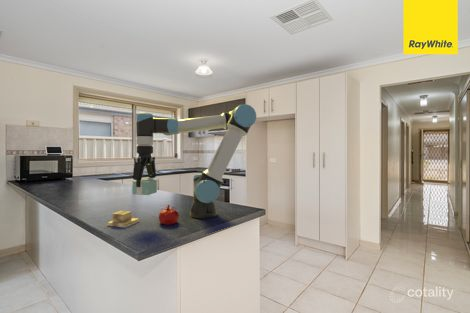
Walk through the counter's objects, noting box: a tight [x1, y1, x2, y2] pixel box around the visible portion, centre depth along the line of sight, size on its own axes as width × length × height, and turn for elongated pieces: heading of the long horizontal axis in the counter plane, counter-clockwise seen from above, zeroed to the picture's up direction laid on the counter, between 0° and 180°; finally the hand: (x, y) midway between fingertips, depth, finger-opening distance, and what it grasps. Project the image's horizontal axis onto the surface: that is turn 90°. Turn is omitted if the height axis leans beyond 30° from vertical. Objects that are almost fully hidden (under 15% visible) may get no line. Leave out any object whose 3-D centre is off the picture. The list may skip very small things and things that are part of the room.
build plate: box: [107, 210, 140, 228], centre depth 120 cm, size 10×10×6 cm
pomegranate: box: [158, 204, 180, 226], centre depth 122 cm, size 10×10×9 cm
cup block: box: [132, 178, 158, 196], centre depth 119 cm, size 8×8×6 cm
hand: (145, 192), depth 119 cm, fingers closed on cup block, 8 cm apart
